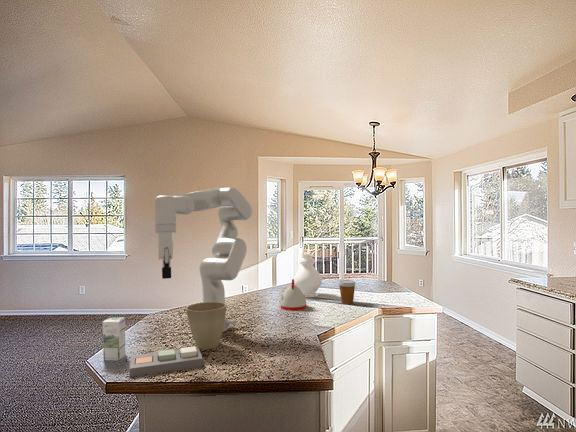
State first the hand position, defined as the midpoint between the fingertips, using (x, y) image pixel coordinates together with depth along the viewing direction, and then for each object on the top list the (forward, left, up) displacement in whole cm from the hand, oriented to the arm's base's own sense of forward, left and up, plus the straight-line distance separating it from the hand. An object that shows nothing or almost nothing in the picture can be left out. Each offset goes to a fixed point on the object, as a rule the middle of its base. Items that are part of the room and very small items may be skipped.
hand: (166, 278), depth 144 cm
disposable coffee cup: (-97, -42, -27) cm, 109 cm away
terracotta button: (+8, +17, -26) cm, 32 cm away
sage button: (+1, +17, -25) cm, 30 cm away
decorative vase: (-85, -71, -27) cm, 114 cm away
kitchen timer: (-66, -45, -27) cm, 84 cm away
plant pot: (-14, +3, -27) cm, 31 cm away
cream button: (-6, +17, -25) cm, 31 cm away
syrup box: (+18, +3, -27) cm, 33 cm away
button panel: (+1, +17, -27) cm, 32 cm away
